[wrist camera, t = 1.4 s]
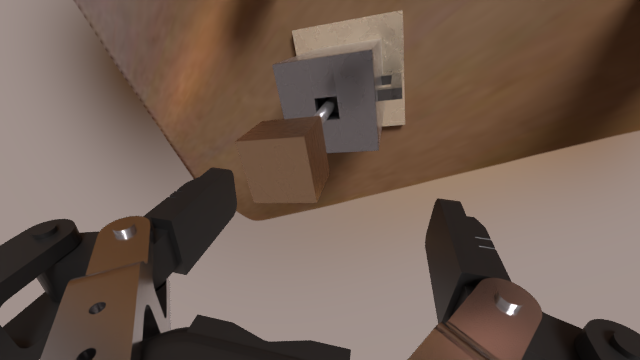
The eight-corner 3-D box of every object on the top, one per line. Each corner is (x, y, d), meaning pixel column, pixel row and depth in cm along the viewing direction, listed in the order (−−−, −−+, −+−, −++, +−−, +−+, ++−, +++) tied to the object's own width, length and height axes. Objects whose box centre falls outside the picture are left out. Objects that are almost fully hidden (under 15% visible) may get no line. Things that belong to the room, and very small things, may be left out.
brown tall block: (365, 59, 33) (324, 109, 15) (369, 119, 36) (341, 221, 18) (306, 67, 35) (207, 121, 17) (315, 124, 38) (241, 219, 20)
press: (402, 10, 39) (405, 5, 24) (404, 121, 47) (408, 174, 31) (295, 30, 44) (237, 37, 28) (312, 129, 51) (274, 178, 35)
